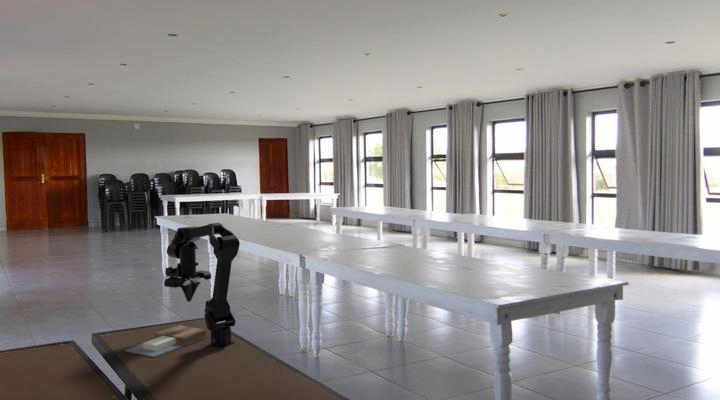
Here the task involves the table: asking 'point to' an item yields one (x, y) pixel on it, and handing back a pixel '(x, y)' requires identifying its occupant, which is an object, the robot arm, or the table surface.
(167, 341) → the cream rectangular block
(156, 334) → the deck
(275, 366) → the table surface
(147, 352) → the mat
